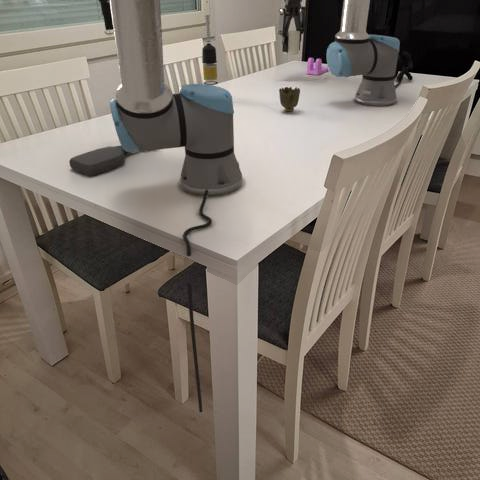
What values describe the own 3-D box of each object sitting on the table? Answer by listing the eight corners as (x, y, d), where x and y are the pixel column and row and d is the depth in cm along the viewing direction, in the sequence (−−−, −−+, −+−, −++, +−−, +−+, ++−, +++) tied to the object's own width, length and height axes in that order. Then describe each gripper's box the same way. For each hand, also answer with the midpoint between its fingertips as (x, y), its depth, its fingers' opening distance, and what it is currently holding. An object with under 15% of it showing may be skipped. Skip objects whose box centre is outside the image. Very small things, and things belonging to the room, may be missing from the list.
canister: (301, 54, 195) (302, 31, 191) (286, 55, 194) (287, 32, 189) (295, 51, 201) (296, 30, 196) (281, 52, 199) (281, 31, 194)
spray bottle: (67, 168, 120) (139, 144, 136) (91, 178, 114) (163, 151, 130) (65, 157, 118) (137, 134, 134) (89, 167, 112) (162, 142, 128)
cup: (275, 113, 160) (275, 90, 156) (283, 107, 165) (284, 85, 161) (294, 115, 157) (295, 92, 153) (302, 110, 162) (303, 87, 158)
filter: (220, 99, 177) (217, 15, 161) (206, 100, 176) (202, 16, 160) (215, 96, 182) (212, 14, 166) (202, 97, 180) (197, 14, 164)
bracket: (317, 75, 212) (318, 59, 208) (306, 73, 215) (307, 58, 211) (329, 70, 221) (331, 55, 217) (319, 69, 223) (320, 54, 220)
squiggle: (400, 92, 202) (376, 71, 205) (417, 76, 202) (392, 56, 205) (405, 81, 191) (380, 59, 194) (423, 64, 191) (397, 42, 194)
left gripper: (163, -69, 102) (172, 32, 114) (93, -64, 115) (107, 26, 126) (139, -71, 97) (151, 36, 108) (68, -65, 110) (85, 29, 121)
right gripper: (303, -10, 192) (300, 47, 204) (269, -8, 182) (269, 52, 194) (316, -10, 187) (312, 49, 199) (282, -8, 177) (281, 54, 189)
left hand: (127, 31), depth 117 cm, fingers open, 13 cm apart
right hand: (291, 50), depth 197 cm, fingers closed on canister, 7 cm apart
